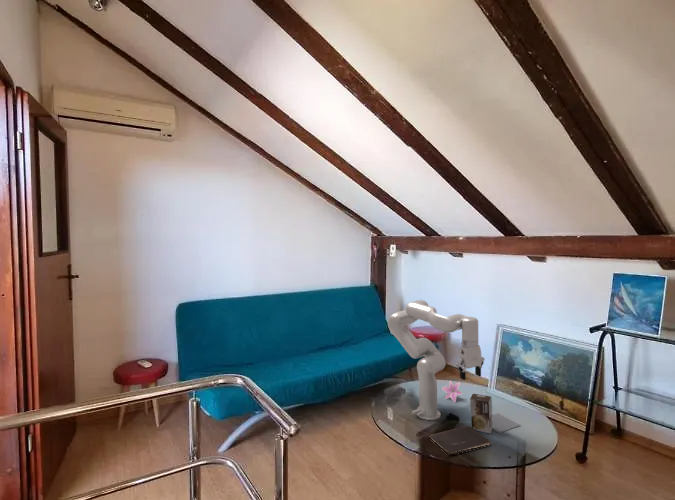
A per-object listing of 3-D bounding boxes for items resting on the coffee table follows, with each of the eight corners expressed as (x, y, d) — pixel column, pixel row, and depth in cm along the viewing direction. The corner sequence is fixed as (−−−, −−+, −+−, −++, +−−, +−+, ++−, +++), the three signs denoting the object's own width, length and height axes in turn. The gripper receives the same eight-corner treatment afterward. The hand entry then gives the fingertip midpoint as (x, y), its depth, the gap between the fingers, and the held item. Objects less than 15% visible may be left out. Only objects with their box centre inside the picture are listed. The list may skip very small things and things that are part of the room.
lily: (440, 395, 229) (437, 385, 225) (456, 386, 231) (453, 375, 227) (452, 409, 219) (449, 399, 214) (469, 399, 221) (466, 388, 216)
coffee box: (492, 427, 189) (491, 396, 188) (490, 434, 184) (489, 402, 182) (474, 423, 194) (472, 392, 193) (471, 429, 188) (469, 398, 187)
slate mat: (499, 433, 184) (499, 432, 184) (477, 420, 197) (477, 419, 197) (520, 425, 191) (520, 425, 191) (497, 413, 203) (497, 413, 203)
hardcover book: (490, 446, 175) (490, 441, 174) (448, 457, 167) (448, 452, 167) (467, 429, 190) (467, 425, 189) (428, 439, 182) (428, 434, 182)
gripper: (461, 347, 177) (462, 383, 178) (489, 342, 184) (489, 376, 185) (450, 343, 184) (451, 377, 185) (478, 338, 191) (478, 371, 191)
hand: (470, 377), depth 185 cm, fingers open, 9 cm apart
